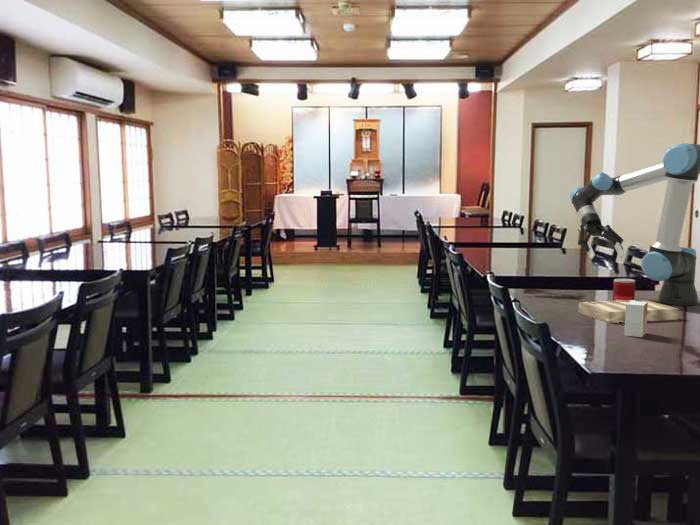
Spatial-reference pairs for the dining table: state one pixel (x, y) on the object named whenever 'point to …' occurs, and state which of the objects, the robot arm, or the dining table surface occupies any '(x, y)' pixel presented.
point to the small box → (636, 318)
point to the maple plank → (617, 310)
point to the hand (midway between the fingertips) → (607, 256)
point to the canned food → (623, 289)
